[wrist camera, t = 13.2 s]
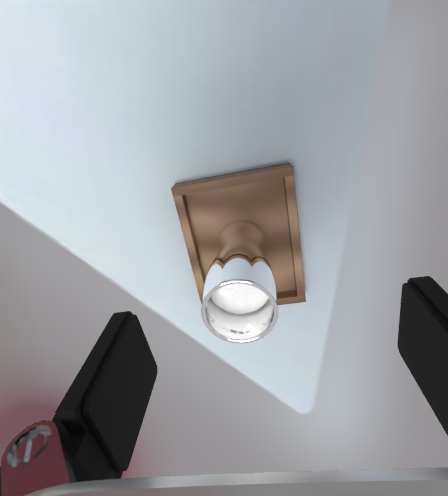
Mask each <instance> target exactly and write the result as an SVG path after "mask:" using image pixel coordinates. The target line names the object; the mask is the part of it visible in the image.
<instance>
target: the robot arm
mask: <svg viewBox="0 0 448 496" xmlns="http://www.w3.org/2000/svg"><path fill="white" fill-rule="evenodd" d="M399 322H400V323H399V333H398V349H399V352H400V354H401V356H402V358H403V360H404V361H405V363H406V365H407V367H408V368H409V370H410V372H411V374H412V375H413V377H414V379H415V380H416V382H417V384H418V386H419V387H420V389H421V390H422V392H423V394H424V396H425V398H426V399H427V401H428V403H429V404H430V406H431V408H432V410H433V411H434V413H435V415H436V416H437V418H438V420H439V422H440V423H441V425H442V426H443V428H444V430H445V432H446V434H447V435H448V294H447V293H446V292H445V291H444V290H443V289H442V288H441V287H440V286H439V285H438V284H437V283H436V282H435V281H434V280H433V279H432V278H431V277H429V276H425V277H417V278H410V279H409V280H408V282H407V283H404V284H403V286H402V297H401V309H400V321H399ZM156 376H157V365H156V362H155V360H154V357H153V355H152V352H151V350H150V347H149V345H148V342H147V340H146V337H145V335H144V332H143V330H142V327H141V325H140V322H139V320H138V318H137V316H136V315H133V314H132V313H131V312H130V311H127V312H119V313H114V314H113V316H112V317H111V319H110V320H109V322H108V324H107V325H106V327H105V329H104V331H103V332H102V334H101V336H100V337H99V339H98V341H97V342H96V344H95V346H94V347H93V349H92V351H91V352H90V354H89V356H88V358H87V359H86V361H85V363H84V365H83V366H82V368H81V370H80V371H79V373H78V375H77V376H76V378H75V380H74V381H73V383H72V385H71V386H70V388H69V390H68V392H67V393H66V395H65V397H64V399H63V400H62V402H61V403H60V405H59V407H58V409H57V410H56V412H55V413H56V414H55V416H54V418H53V420H52V421H50V420H42V421H38V422H35V423H33V424H31V425H29V426H27V427H26V428H25V429H23V430H22V431H21V432H19V433H18V434H17V435H16V436H15V437H14V438H13V439H12V440H11V441H10V443H9V444H8V445H7V447H6V448H5V450H4V453H3V455H2V458H1V466H0V496H448V467H436V468H392V469H361V470H330V471H329V470H328V471H300V472H299V471H298V472H269V473H242V474H219V475H218V474H216V475H192V476H169V477H144V478H126V479H121V475H122V472H123V471H125V470H127V468H128V466H129V463H130V460H131V457H132V454H133V450H134V447H135V444H136V441H137V437H138V434H139V431H140V428H141V425H142V422H143V418H144V415H145V412H146V408H147V405H148V402H149V399H150V396H151V393H152V389H153V386H154V383H155V380H156Z"/></svg>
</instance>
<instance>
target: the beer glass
mask: <svg viewBox="0 0 448 496" xmlns="http://www.w3.org/2000/svg"><path fill="white" fill-rule="evenodd" d="M218 246H219V252H218V254H217V255H216V257H215V258H214V260H213V262H212V263H211V265H210V267H209V270H208V273H207V276H206V279H205V285H204V291H203V302H202V307H201V314H202V319H203V321H204V323H205V325H206V327H207V328H208V329H209V330H210V331H211V332H212V333H213V334H214V335H215V336H217V337H218V338H220V339H222V340H225V341H228V342H232V343H249V342H253V341H256V340H259V339H261V338H263V337H264V336H266V335H267V334H268V333H269V332H270V331H271V330H272V329H273V327H274V326H275V324H276V321H277V318H278V307H277V286H276V280H275V275H274V272H273V269H272V267H271V264H270V262H269V260H268V259H267V257H266V255H265V253H264V250H265V247H266V240H265V236H264V234H263V232H262V231H261V229H260V228H259V227H257V226H256V225H255V224H253V223H250V222H246V221H238V222H234V223H231V224H229V225H228V226H227V227H225V228H224V229H223V231H222V232H221V234H220V236H219V241H218Z"/></svg>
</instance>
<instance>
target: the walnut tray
mask: <svg viewBox="0 0 448 496" xmlns="http://www.w3.org/2000/svg"><path fill="white" fill-rule="evenodd" d="M171 190H172V193H173V197H174V201H175V205H176V209H177V212H178V216H179V220H180V224H181V228H182V232H183V235H184V239H185V243H186V247H187V251H188V254H189V258H190V262H191V266H192V270H193V273H194V277H195V281H196V285H197V289H198V292H199V296H200V300H201V304H202V302H203V291H204V285H205V279H206V276H207V273H208V270H209V267H210V265H211V263H212V262H213V260H214V258H215V257H216V255H217V254H218V252H219V246H218V241H219V236H220V234H221V232H222V231H223V229H224V228H225V227H227V226H228V225H229V224H231V223H234V222H238V221H246V222H250V223H253V224H255V225H256V226H257V227H259V228H260V229H261V231H262V232H263V234H264V236H265V240H266V247H265V250H264V253H265V255H266V257H267V259H268V260H269V262H270V264H271V267H272V269H273V272H274V275H275V280H276V286H277V305H283V304H291V303H300V302H306V298H305V288H304V277H303V267H302V257H301V247H300V237H299V227H298V216H297V206H296V196H295V186H294V176H293V167H292V165H291V164H290V163H287V164H281V165H276V166H270V167H265V168H259V169H254V170H248V171H243V172H237V173H232V174H226V175H221V176H215V177H209V178H204V179H198V180H193V181H187V182H182V183H176V184H175V185H174V186H173V187H172V188H171Z"/></svg>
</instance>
